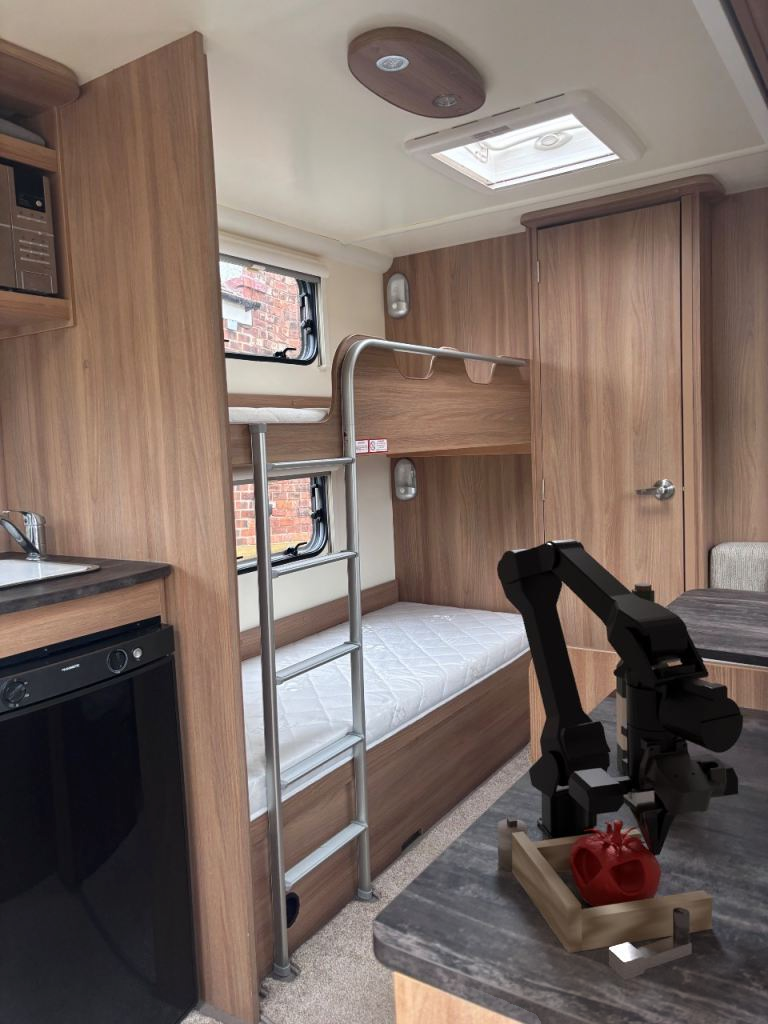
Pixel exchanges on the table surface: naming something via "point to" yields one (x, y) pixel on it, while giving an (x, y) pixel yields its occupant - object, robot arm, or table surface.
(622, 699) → the wine bottle
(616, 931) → the frame
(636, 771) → the robot arm
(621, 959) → the crank handle
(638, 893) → the pomegranate
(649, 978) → the table surface
